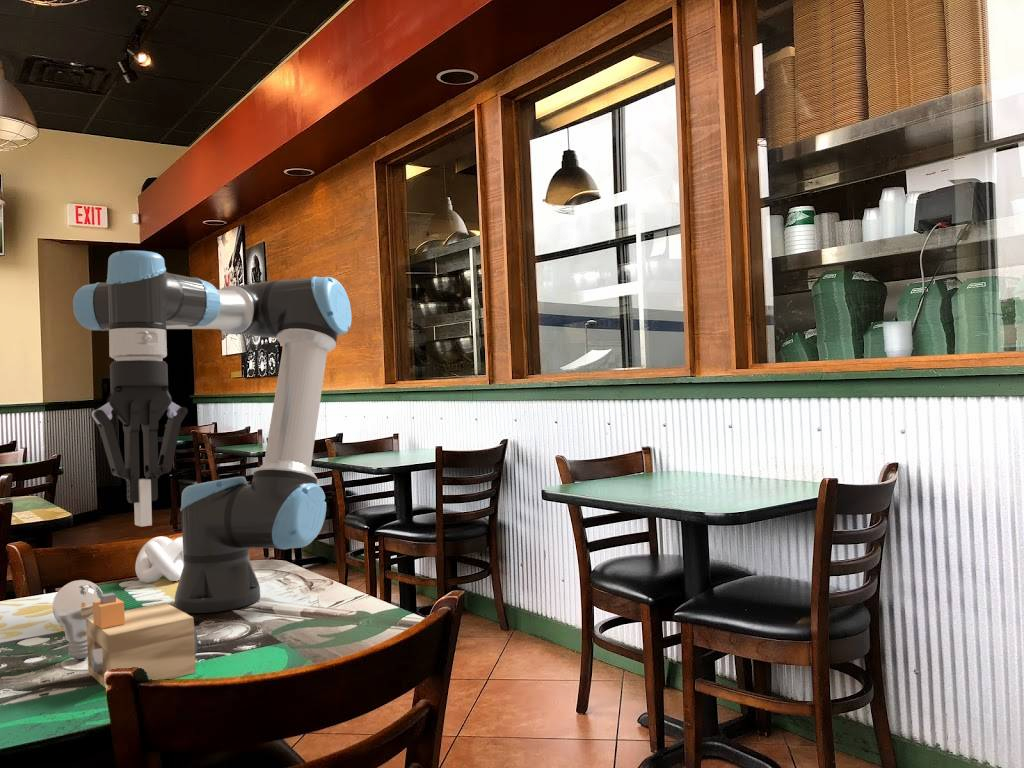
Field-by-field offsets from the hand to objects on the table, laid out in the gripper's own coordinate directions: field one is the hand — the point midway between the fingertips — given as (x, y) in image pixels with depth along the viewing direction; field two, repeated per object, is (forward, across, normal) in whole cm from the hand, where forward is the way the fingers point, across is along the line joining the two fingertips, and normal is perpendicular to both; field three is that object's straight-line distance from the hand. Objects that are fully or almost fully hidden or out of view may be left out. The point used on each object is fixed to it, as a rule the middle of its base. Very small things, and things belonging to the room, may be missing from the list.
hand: (143, 524), depth 116 cm
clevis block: (+21, -1, +1) cm, 21 cm away
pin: (+21, -1, +1) cm, 21 cm away
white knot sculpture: (+20, +23, +59) cm, 66 cm away
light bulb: (+21, -5, +14) cm, 26 cm away
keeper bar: (+13, -5, +1) cm, 14 cm away
